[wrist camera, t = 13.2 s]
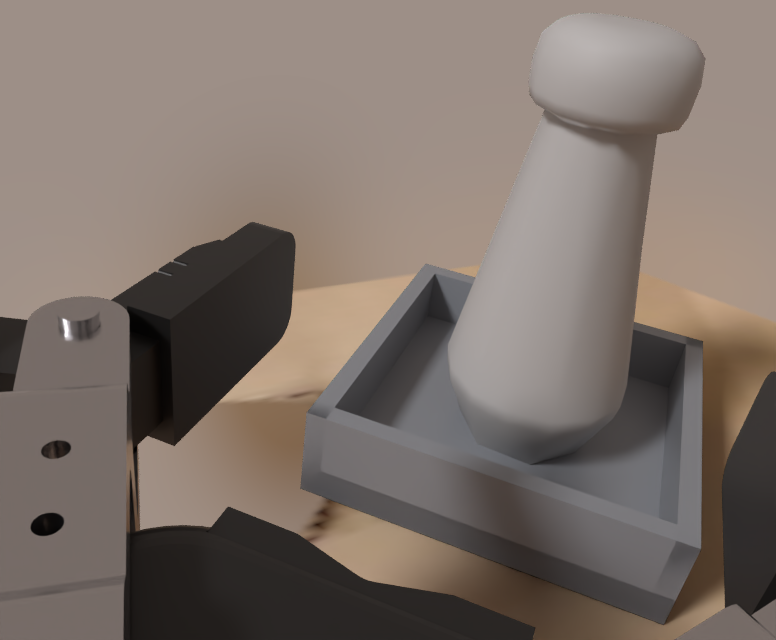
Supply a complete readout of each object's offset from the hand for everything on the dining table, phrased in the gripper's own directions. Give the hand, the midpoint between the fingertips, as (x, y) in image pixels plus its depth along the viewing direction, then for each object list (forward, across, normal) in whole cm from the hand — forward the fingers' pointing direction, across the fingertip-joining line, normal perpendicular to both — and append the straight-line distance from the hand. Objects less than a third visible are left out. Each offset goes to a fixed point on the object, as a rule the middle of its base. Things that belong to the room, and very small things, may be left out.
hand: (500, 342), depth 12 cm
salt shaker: (+10, 0, +9) cm, 14 cm away
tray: (+10, 0, +10) cm, 14 cm away
